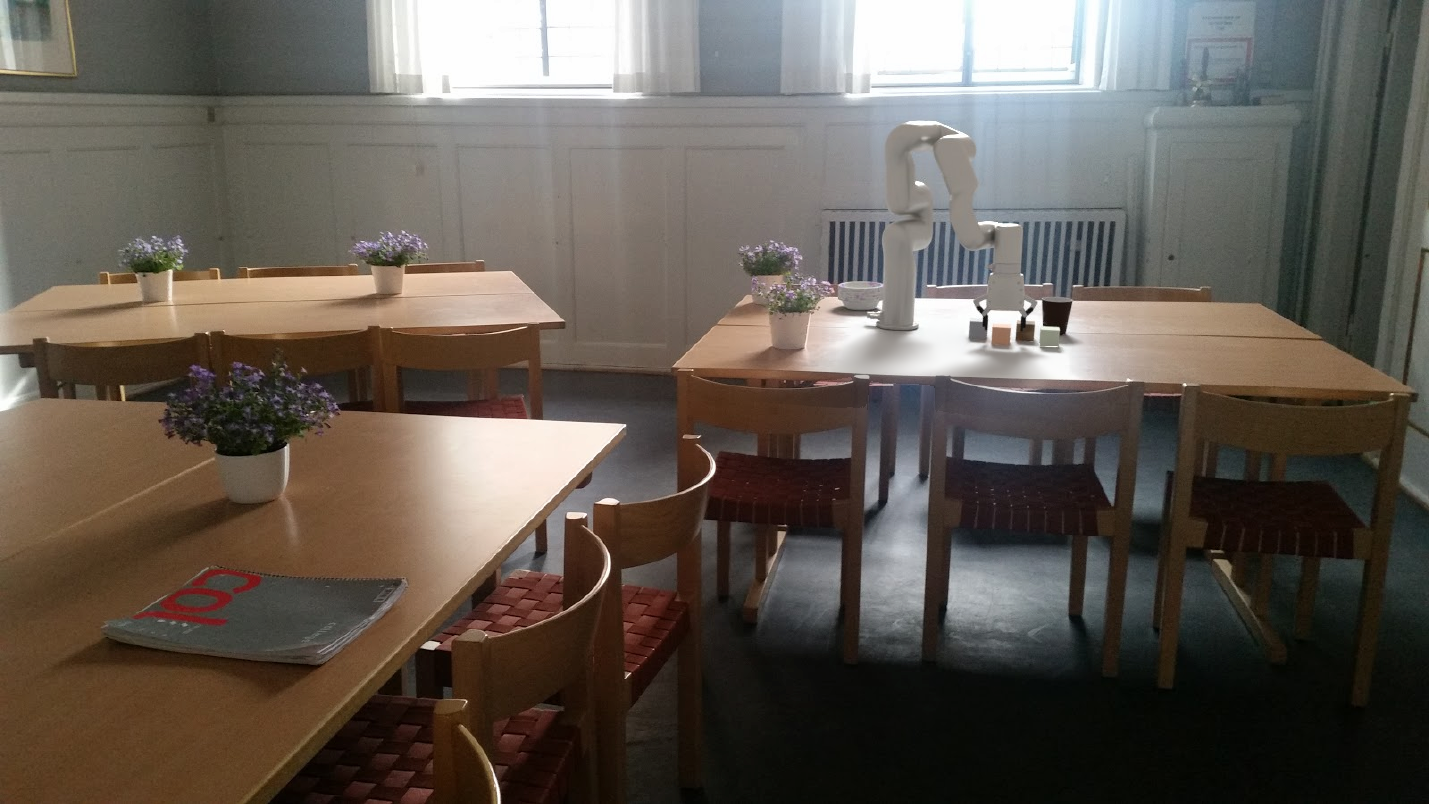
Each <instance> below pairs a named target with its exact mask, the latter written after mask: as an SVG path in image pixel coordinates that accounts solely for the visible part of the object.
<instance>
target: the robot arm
mask: <svg viewBox="0 0 1429 804" xmlns="http://www.w3.org/2000/svg"><path fill="white" fill-rule="evenodd" d="M884 143H885V144H884V160H885V161H884V162H885V203H886V209H887V210H888V212H889V213H890V214H892V215H894V216H897V217H898V216H901V217H902V216H904V218H903V219H901V220H896V221H893V222H891V223H889V224H888V225H887V226H886V227H885V228H884V230H883V232H882V235H881V245H882V251H883V280H882V284H883V300H882V305H881V310H880V311H877V312H874V311H867V312H866V318H867V319H871V320H877V321H875V323H876V324H875V325H876V327H877V328H880V329H883V330H891V331H911V330H916V329H918V328H919V322H917V321H915V317H914V316H915V301H916V300H915V297H916V279H917V278H916V277H917V262H916V258H915V254H914V252H916V251H921V250H924V249H926V248H927V247H928V246H929V245H930V243H931V242H932V239H933V236H934V208H933V207H934V203H933V200H934V198H933V195H932V193H931V190H930V188H929V186H927V184H925V183H923V182H921V181H917V180H916V165H915V161H914V159H913V156H912V154H913V153H916V152H919V153H920V152H931V153H932V154H933V157H934V159H935V162H936V164H937V167H938V169H939V170H938V171H939V173H940V174H941V177H942V179H943V182H944V184H945V186H946V189H947V192H948V194H949V204H948V207H949V208H948V209H949V213H948V214H949V221H950V223H951V226H952V228H953V231H954V233H955V236H956V239H957V241H958V243H960V245H961V246H962V247H963V248H964V249H966V250H967V251H970V252H974V251H975V252H976V251H980V250H981V251H982V250H988V249H993V255H992V257H993V259H992V263H990V264H987V270H990V271H992V272H991V273H989V276H988V282H987V289H986V293H985V294H982V295H980V296H978V297H976V298H974V299H973V305H974V307H975V308H976V310H977V312H978V313H979V314H980V315H982V319H983V324H982V327H985V330H987V329H988V327H989V313H990V311H1000V312H1002V311H1003V312H1019V313H1020V315H1021V316H1020V321H1021V325H1020V331H1021V332H1023V328H1026V321H1027V317H1028V316H1029V315H1030V314H1032V313H1033V312H1034V311H1035V309H1036V306H1037V305H1038V300H1036V299H1034V298H1032V297H1031V296H1028V295H1027V294H1025V277H1024V276H1025V275H1024V274H1023V273H1021V272H1022V258H1023V257H1022V254H1023V240H1024V239H1023V236H1024V234H1023V233H1024V231H1023V230H1024V228H1023V226H1022V225H1021V224H1017V223H1001V222H1000V223H998V222H996V221H980V222H978V219H977V217H976V215H975V212H974V208H973V197H974V195H975V192H976V191H977V189H978V187H979V179H978V178H977V175H976V172H975V170H974V168H973V165H972V162H973V161H974V160H975V158H976V155H977V145H976V143H975V141H974V140H973V139H972V138H971V137H970V136H969V135H967V134H965V133H963V132H961V131H958V130H957V129H956V130H955V129H953V128H951V127H949V126H947V125H944V124H942V123H940V122H938V121H931V120H927V121H925V120H915V121H914V120H913V121H912V120H911V121H906V122H903V123H900V124H898V125H897V126H895V127H894V128H893V129H892V130H891V131H890V132H889V133H888V135H887V136H886V139H885V142H884ZM982 301H986V302H985V305H986V306H985V308H983V307H982V306H981V304H980V303H981V302H982ZM1025 302H1028V303H1030V305H1029V307H1028V308H1027V309H1025V307H1024V306H1025ZM988 330H989V329H988ZM988 330H987V331H988Z"/></svg>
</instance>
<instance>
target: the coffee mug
mask: <svg viewBox="0 0 1429 804" xmlns="http://www.w3.org/2000/svg"><path fill="white" fill-rule="evenodd" d="M1073 301H1074V300H1073V299H1071V298H1070V297H1069V298H1068V297H1064V296H1063V297H1062V296H1061V297H1060V296H1045V297H1042V298H1041V308H1042V309H1041V310H1042V311H1041V314H1042V326H1045V327H1059V328H1060V335H1059V336H1064V335H1063V334H1065V335H1066V334H1067V330H1068V325H1069V321H1070V316H1071V311H1072V306H1073Z"/></svg>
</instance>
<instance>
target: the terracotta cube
mask: <svg viewBox="0 0 1429 804" xmlns="http://www.w3.org/2000/svg"><path fill="white" fill-rule="evenodd" d="M1011 332H1012V324H1005V323H1004V324H1003V323H992V330H991V340H990V341H991V342H990V344H991V345H995V344H998V345H997V346H999V345H1000V346H1010V345H1011V344H1010V343H1011Z"/></svg>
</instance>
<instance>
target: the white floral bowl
mask: <svg viewBox="0 0 1429 804" xmlns="http://www.w3.org/2000/svg"><path fill="white" fill-rule="evenodd" d="M837 300H839V301H842V304H843V306H844V308H846V309H847V310H852V311H853V310H854V311H872V310H875V309H876V308H877V307H878V306H879V303H880V302H881V301H883V283H881V282H877V281H876V282H875V281H846V282H842V283H839V284H838V285H837Z"/></svg>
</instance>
